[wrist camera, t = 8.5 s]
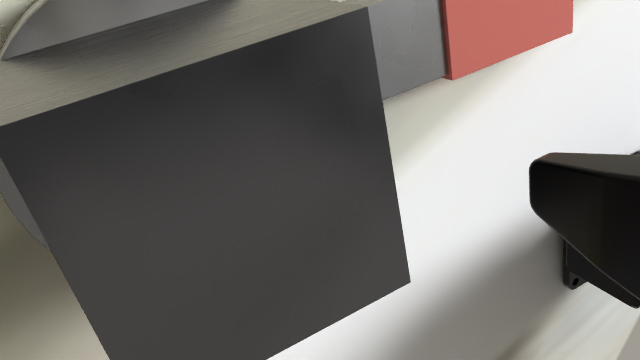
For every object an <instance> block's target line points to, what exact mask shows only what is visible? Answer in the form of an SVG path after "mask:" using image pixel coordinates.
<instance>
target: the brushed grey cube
mask: <svg viewBox="0 0 640 360" xmlns="http://www.w3.org/2000/svg"><path fill="white" fill-rule="evenodd" d="M0 157H1V159H2V161H3V163H4V165H5V167H6V168H7V170H8V172H9V174H10V176H11V178H12V180H13V181H14V183H15V185H16V187H17V189H18V191H19V192H20V194H21V196H22V198H23V200H24V202H25V204H26V205H27V207H28V209H29V211H30V213H31V215H32V217H33V218H34V220H35V222H36V224H37V226H38V228H39V229H40V231H41V233H42V235H43V237H44V239H45V241H46V242H47V244H48V246H49V248H50V250H51V252H52V253H53V255H54V257H55V259H56V261H57V263H58V265H59V266H60V268H61V270H62V272H63V274H64V276H65V277H66V279H67V281H68V283H69V285H70V287H71V289H72V290H73V292H74V294H75V296H76V298H77V300H78V302H79V303H80V305H81V307H82V309H83V311H84V313H85V314H86V316H87V318H88V320H89V322H90V324H91V326H92V327H93V329H94V331H95V333H96V335H97V337H98V338H99V340H100V342H101V344H102V346H103V348H104V350H105V351H106V353H107V355H108V357H109V359H110V360H266V359H268V358H270V357H272V356H274V355H276V354H278V353H280V352H281V351H283V350H285V349H287V348H289V347H291V346H293V345H294V344H296V343H298V342H300V341H302V340H304V339H306V338H308V337H309V336H311V335H313V334H315V333H317V332H319V331H321V330H322V329H324V328H326V327H328V326H330V325H332V324H334V323H335V322H337V321H339V320H341V319H343V318H345V317H347V316H349V315H350V314H352V313H354V312H356V311H358V310H360V309H362V308H363V307H365V306H367V305H369V304H371V303H373V302H375V301H377V300H378V299H380V298H382V297H384V296H386V295H388V294H390V293H391V292H393V291H395V290H397V289H399V288H401V287H403V286H404V285H406V284H408V283H410V282H411V281H410V275H409V268H408V262H407V256H406V249H405V243H404V236H403V230H402V224H401V217H400V211H399V204H398V198H397V192H396V185H395V179H394V172H393V166H392V159H391V153H390V147H389V140H388V134H387V127H386V121H385V115H384V108H383V102H382V95H381V89H380V83H379V76H378V70H377V63H376V57H375V50H374V44H373V38H372V31H371V25H370V18H369V12H368V6H362V5H356V4H350V3H343V2H337V1H331V0H207V1H204V2H200V3H197V4H193V5H190V6H187V7H183V8H180V9H176V10H173V11H169V12H166V13H162V14H159V15H155V16H152V17H149V18H145V19H142V20H138V21H135V22H131V23H128V24H124V25H121V26H117V27H114V28H111V29H107V30H104V31H100V32H97V33H93V34H90V35H86V36H83V37H79V38H76V39H73V40H69V41H66V42H62V43H59V44H55V45H52V46H48V47H45V48H41V49H38V50H35V51H31V52H28V53H24V54H21V55H17V56H14V57H10V58H7V59H3V60H0Z"/></svg>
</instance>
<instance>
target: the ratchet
mask: <svg viewBox="0 0 640 360" xmlns="http://www.w3.org/2000/svg"><path fill="white" fill-rule="evenodd" d="M204 1H207V0H37V1H36V2H34V3H33V4H32V5H31V6H30V7H29V8H28V9H27V10H26V11H25V12H24V14H23V15H22V16H21V18H20V19H19V20H18V21H17V23H16V24H15V25H14V27H13V28H12V30H11V32H10V33H9V35H8V37H7V39H6V41H5V42H4V44H3V46H2V48H1V51H0V60H3V59H7V58H10V57H14V56H17V55H21V54H24V53H28V52H31V51H35V50H38V49H41V48H45V47H48V46H52V45H55V44H59V43H62V42H66V41H69V40H73V39H76V38H79V37H83V36H86V35H90V34H93V33H97V32H100V31H104V30H107V29H111V28H114V27H117V26H121V25H124V24H128V23H131V22H135V21H138V20H142V19H145V18H149V17H152V16H155V15H159V14H162V13H166V12H169V11H173V10H176V9H180V8H183V7H187V6H190V5H193V4H197V3H200V2H204ZM343 3H350V4H356V5H362V6H368V12H369V18H370V25H371V31H372V38H373V44H374V50H375V57H376V63H377V70H378V76H379V83H380V89H381V95H382V100H384V99H387V98H390V97H392V96H395V95H397V94H400V93H402V92H405V91H407V90H410V89H412V88H415V87H417V86H420V85H422V84H425V83H427V82H430V81H433V80H435V79H438V78H440V77H443V78H446V79H449V80H455V79H458V78H460V77H462V76H465V75H467V74H470V73H472V72H475V71H477V70H480V69H482V68H485V67H487V66H490V65H492V64H495V63H497V62H500V61H502V60H505V59H507V58H510V57H512V56H515V55H517V54H520V53H522V52H525V51H527V50H530V49H532V48H535V47H537V46H540V45H542V44H545V43H547V42H550V41H552V40H555V39H557V38H560V37H562V36H565V35H567V34H570V33H572V29H573V0H346V1H343ZM0 192H1V194H2V196H3V198H4V200H5V202H6V203H7V205H8V206H9V208H10V209H11V211H12V212H13V214H14V215H15V217H16V218H17V220H18V221H19V222H20V223H21V224H22V225H23V226H24V227H25V228H26V230H27V231H28V232H29V233H30V234H31V235H32V236H33V237H34V238H36V239H37V240H38V241H39V242H40V243H42V244H43V245H44V246H45V247H46V248H48V249H49V250H50V248H49V246H48V244H47V242H46V241H45V239H44V237H43V235H42V233H41V231H40V229H39V228H38V226H37V224H36V222H35V220H34V218H33V217H32V215H31V213H30V211H29V209H28V207H27V205H26V204H25V202H24V200H23V198H22V196H21V194H20V192H19V191H18V189H17V187H16V185H15V183H14V181H13V180H12V178H11V176H10V174H9V172H8V170H7V168H6V167H5V165H4V163H3V161H2V159H1V157H0Z"/></svg>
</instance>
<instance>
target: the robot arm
mask: <svg viewBox="0 0 640 360" xmlns="http://www.w3.org/2000/svg"><path fill="white" fill-rule="evenodd" d="M529 195H530V204H531V207H532V209H533V211H534V212H535V213H536V214H537V215H538V216H539V217H540V218H541V219H542V220H543V221H545V222H546V223H547V224H548V225H549V226H550V227H551V228H552V229H554V230H555V231H556V232H557V233H558V234H559V235H560V236H561V237H563V238H564V270H563V283H564V285H565V286H566V287H568V288H569V289H572V290H573V289H576V288H577V287H579V286H581V285H582V284H584V283H585V282H587V281H588V282H589V283H591V284H593V285H594V286H596V287H598V288H600V289H601V290H603V291H605V292H606V293H608V294H610V295H612V296H613V297H615V298H617V299H619V300H620V301H622V302H624V303H625V304H627V305H629V306H631V307H633V308H639V307H640V152H638V153H636V154H634V155H618V154H586V153H548V154H546V155H544V156H542V157H540V158H538V159H536V160H534V161H533V162H532V163H531V165H530V167H529Z"/></svg>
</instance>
